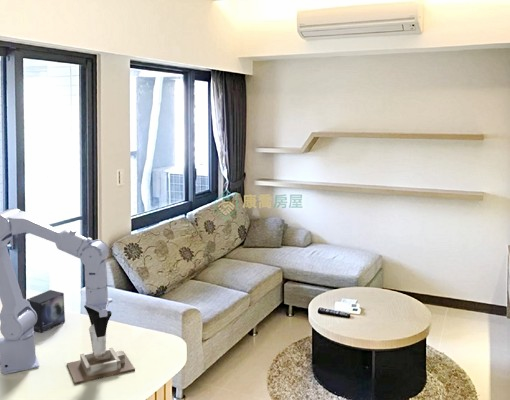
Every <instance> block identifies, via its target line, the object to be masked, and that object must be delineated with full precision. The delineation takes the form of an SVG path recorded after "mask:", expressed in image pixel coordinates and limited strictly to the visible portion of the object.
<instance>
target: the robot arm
mask: <svg viewBox="0 0 510 400" xmlns="http://www.w3.org/2000/svg"><path fill="white" fill-rule="evenodd" d="M23 233H24V234H25V233H28V234H31V235H33V236H36V237H39V238H41V239H44V240H46V241H49V242H52V243H54V244H55V246H56V248H57V250H59V251H61V252H64V253H66V254H68V255H70V256H73V257H74V258H78V259H80V261H81V263H82V264H83V265H84V283H85V284H84V285H85V286H84V287H85V304H84V306H83V307H84V309H85V310H86V313H87V314H88V315H87V316H88V317H89V321H90V326H91V325H93V324H94V328H95V332H96V336H97V337H103V336H105V334H106V335H107V329H108V323H109V320H110V318H111V317H112V313H113V312H112V311H111V310H108V307H109V304H110V303H113V298H112V297H109V294H108V293H109V292H108V291H109V290H108V273H107V272H108V270H107V259H106V258H107V257H108V255H109V253H110V249H109V246H108V245H107V243H106V242H105V241H103V240H101V239H94V240H93V238H92V237H85V236H83V235H81V234H79V233H77V230H75V229H74V228H73V229H64V230H63V231H61V230H59V229H57V228H55V227H53V226H51V225H49V224H47V223H45V222H44V221H41V220H40V219H37V218H35V217H34V216H32V215H31V214H29V213H28V212H27V211H23V210H21V209H19V208H16V207H12V208H8V209H5V210H4V211H2V212H0V301H1V305H2V308H1V310H0V333H1V335H2V337H0V370H1V375H7V374H13V373H17V372H22V371H27V370H30V369H31V370H32V369H36V368H39V367H40V364H39V360H38V357H37V355H36V354H37V353H36V342H35V341H36V340H35V339H36V338H35V331H34V325H35V324H36V322H37V314H36V312H35V311H34V309H33V308H32V307H31V305H30V302H29V301H27V299H25V298H24V297H23V294H22V290H21V287H20V285H19V281H18V278H17V277H18V276H17V275H16V272H15V268H14V265H13V263H12V259H11V256H10V253H9V249H8V246H7V245H8V244H9V242H10V241H11V239H12V237H13V236H14V235H18V234H19V235H20V234H23Z"/></svg>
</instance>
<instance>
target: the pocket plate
mask: <svg viewBox="0 0 510 400" xmlns="http://www.w3.org/2000/svg"><path fill="white" fill-rule="evenodd" d="M79 356H80V360H75V361H70V362H66V366H67V368H68V371H69V374H70V375H71V379H72V380H73V383H74V385H79V384H84V383H87V382H92V381H97V380H101V379H103V378H104V379H105V378H109V377H110V378H111V377H114V376H117V375H118V376H119V375H122V374H126V373H131V372H135V371H136V368H135V366H134V365H133V364H132V362H131V360H130V359H129V358H128V356H127V354H126V353H125V351H123V350H118V351H117V350H116V351H115V350H114V348H113V347H110V348H106V355H105V356H104V357H102V358H95V357H94V356H93V351H90V352H85V353H81V354H79Z"/></svg>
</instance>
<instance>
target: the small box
mask: <svg viewBox="0 0 510 400" xmlns="http://www.w3.org/2000/svg"><path fill="white" fill-rule="evenodd" d="M26 300H27V301H29V302H30V305H31V307H32V308H33V309H34V311H35V312H36V314H37V322H36V324H35V325H34V333H35V332H36V333H39V334H42V333H45V332H47V331H49V330H52V329H53V328H55V327H57V326H59V325H62V324H64V323H65V322H66V314H65V294H64V292H61V291H57V290H52V289H49V290H47V291H44V292H42V293H39V294H37V295H35V296H32V297H30V298H26Z"/></svg>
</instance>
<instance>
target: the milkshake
mask: <svg viewBox="0 0 510 400" xmlns="http://www.w3.org/2000/svg"><path fill="white" fill-rule="evenodd" d="M88 330H89V331H88V332H89V336H90V342H91V343H90V344H91V350H92V352H93V356H94V357H95V358H102V357H104V356H105V355H106V349H107V333H106V334H105V336H103V337H97V336H96V332H95V328H94V324H93V325H91V324H90V326H89V329H88Z"/></svg>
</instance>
